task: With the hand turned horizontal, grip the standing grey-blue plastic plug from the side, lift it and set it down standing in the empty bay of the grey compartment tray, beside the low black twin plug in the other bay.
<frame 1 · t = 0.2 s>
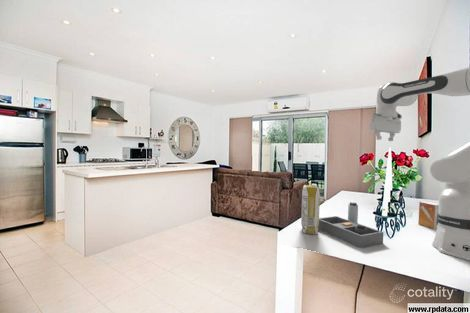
hand: (384, 140, 122), 47 cm above the table, tool pointing down, fingers open, 8 cm apart
juice carton: (309, 231, 113), on the table
grey plug: (352, 227, 121), on the table
small box: (429, 226, 126), on the table
twin plug: (360, 236, 102), resting on grey compartment tray
grey compartment tray: (346, 235, 109), on the table
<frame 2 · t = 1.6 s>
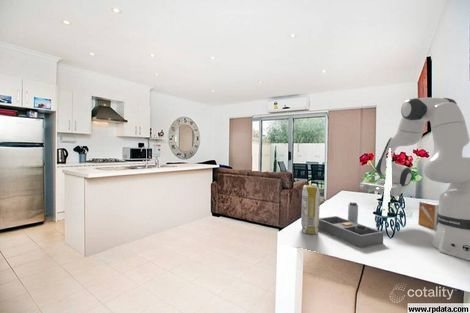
hand: (369, 188, 125), 20 cm above the table, tool horizontal, fingers open, 8 cm apart
nothing on the table moved.
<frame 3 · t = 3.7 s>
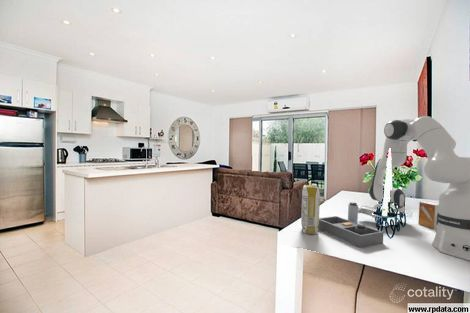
hand: (365, 213, 124), 6 cm above the table, tool horizontal, fingers open, 8 cm apart
nothing on the table moved.
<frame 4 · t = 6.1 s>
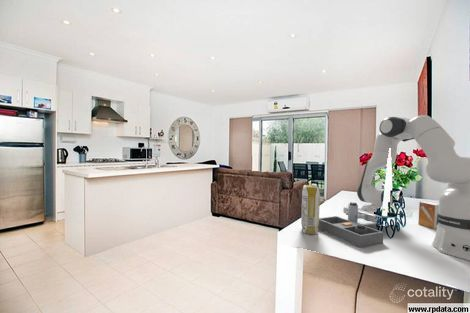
hand: (351, 215, 120), 7 cm above the table, tool horizontal, fingers closed on grey plug, 5 cm apart
grey plug: (352, 227, 121), on the table, touching gripper
everything else where it was.
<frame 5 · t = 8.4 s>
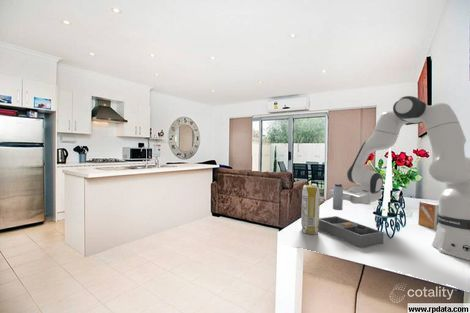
hand: (336, 196, 116), 17 cm above the table, tool horizontal, fingers closed on grey plug, 5 cm apart
grey plug: (337, 209, 117), point 11 cm above the table, touching gripper
everything else where it was.
when the fingers open (10 cm above the table, at t = 10.7 s): grey plug drops 1 cm, resting on grey compartment tray.
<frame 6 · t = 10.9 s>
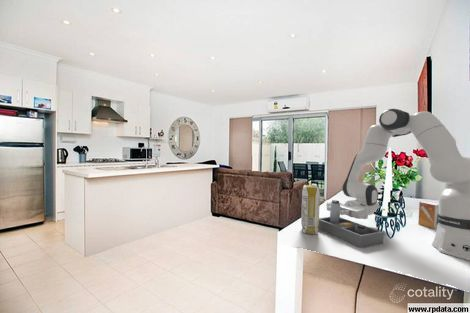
hand: (333, 210, 115), 10 cm above the table, tool horizontal, fingers open, 6 cm apart
grey plug: (334, 225, 116), point 2 cm above the table, touching grey compartment tray
everything else where it was.
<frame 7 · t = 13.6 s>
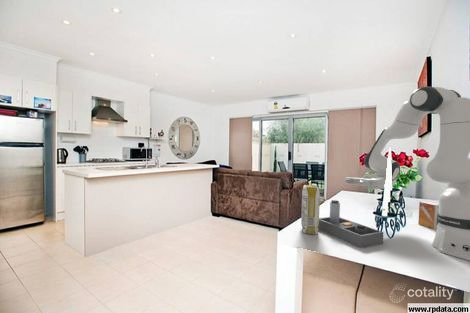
hand: (353, 182, 120), 24 cm above the table, tool horizontal, fingers open, 8 cm apart
nothing on the table moved.
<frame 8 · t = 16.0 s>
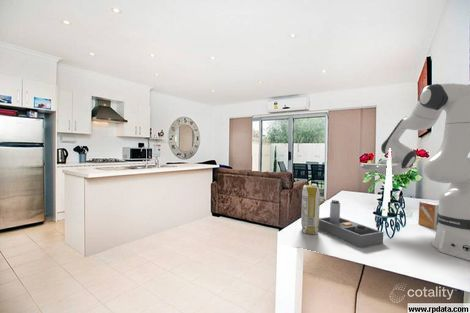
hand: (369, 167, 125), 32 cm above the table, tool horizontal, fingers open, 8 cm apart
nothing on the table moved.
at the end: grey plug inside the target area on the grey compartment tray (0.1 cm from its centre), point 2.0 cm above the grey compartment tray's base; grey plug tilted 1°; the gripper is holding nothing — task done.
